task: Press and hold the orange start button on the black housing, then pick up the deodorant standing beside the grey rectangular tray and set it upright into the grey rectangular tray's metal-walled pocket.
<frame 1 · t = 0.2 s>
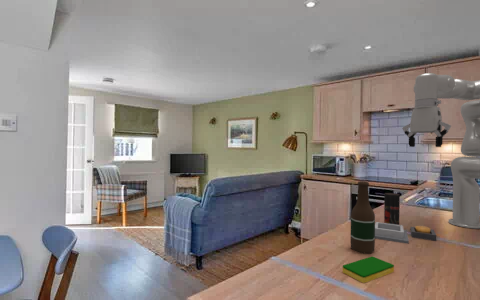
hand: (424, 146, 108), 36 cm above the countertop, tool pointing down, fingers open, 9 cm apart
button housing: (422, 236, 108), on the countertop
dish sponge: (368, 273, 77), on the countertop
deodorant: (391, 227, 119), on the countertop
beer bottle: (362, 250, 93), on the countertop
start button: (422, 229, 108), point 2 cm above the countertop, slide at 0.0 cm
grey rectangular tray: (388, 235, 108), on the countertop
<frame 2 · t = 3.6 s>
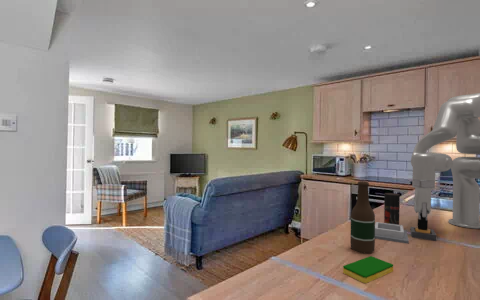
hand: (422, 229, 108), 3 cm above the countertop, tool pointing down, fingers closed
start button: (422, 231, 108), point 2 cm above the countertop, slide at 0.7 cm, touching gripper
everything else where it was.
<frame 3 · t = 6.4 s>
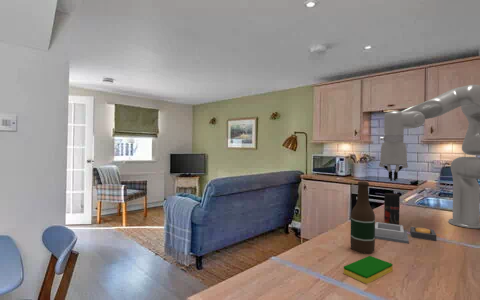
hand: (392, 180, 119), 21 cm above the countertop, tool pointing down, fingers closed
start button: (422, 231, 108), point 2 cm above the countertop, slide at 0.8 cm
everything else where it was.
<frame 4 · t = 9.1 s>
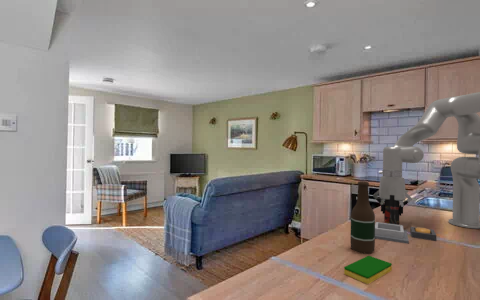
hand: (391, 213, 119), 6 cm above the countertop, tool pointing down, fingers closed on deodorant, 5 cm apart
deodorant: (391, 227, 119), on the countertop, touching gripper
everything else where it was.
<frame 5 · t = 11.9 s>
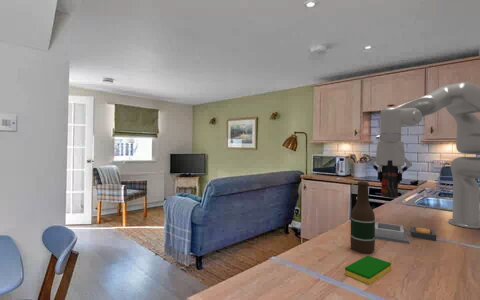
hand: (389, 181, 109), 22 cm above the countertop, tool pointing down, fingers closed on deodorant, 5 cm apart
deodorant: (389, 196, 109), point 16 cm above the countertop, touching gripper
everything else where it was.
when the fingers open (8 cm above the countertop, at t = 15.0 s): deodorant drops 1 cm, resting on grey rectangular tray.
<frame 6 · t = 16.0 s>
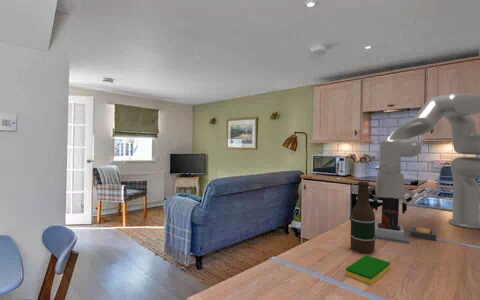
hand: (389, 211, 108), 10 cm above the countertop, tool pointing down, fingers open, 9 cm apart
deodorant: (389, 233, 109), point 1 cm above the countertop, touching grey rectangular tray
everything else where it was.
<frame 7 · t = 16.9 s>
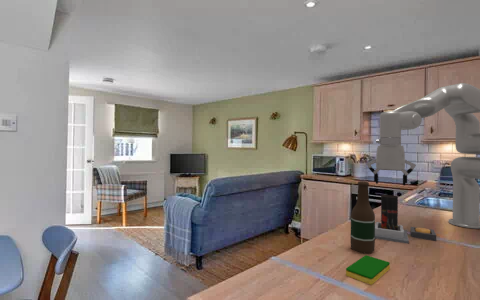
hand: (390, 184, 108), 21 cm above the countertop, tool pointing down, fingers open, 9 cm apart
nothing on the countertop moved.
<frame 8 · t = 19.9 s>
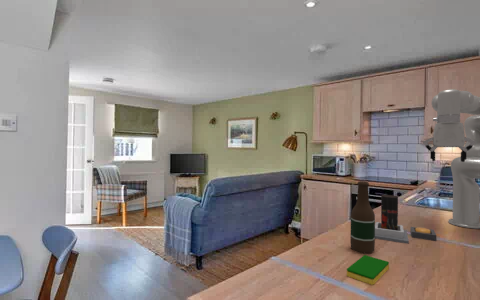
hand: (447, 161, 111), 30 cm above the countertop, tool pointing down, fingers open, 9 cm apart
at the end: start button slide at 0.8 cm; deodorant 0.3 cm off-centre on the grey rectangular tray, point 0.8 cm above the grey rectangular tray's base; deodorant tilted 0° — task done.
